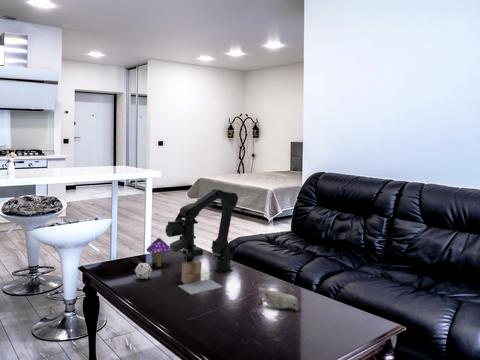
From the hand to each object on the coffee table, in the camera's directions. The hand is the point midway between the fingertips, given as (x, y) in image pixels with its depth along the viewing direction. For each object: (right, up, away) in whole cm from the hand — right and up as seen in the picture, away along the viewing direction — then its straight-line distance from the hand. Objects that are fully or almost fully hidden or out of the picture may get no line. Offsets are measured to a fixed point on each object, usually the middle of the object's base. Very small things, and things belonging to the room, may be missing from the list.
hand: (187, 266), depth 192 cm
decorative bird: (+39, -10, -31) cm, 51 cm away
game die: (-21, -6, +1) cm, 22 cm away
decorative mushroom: (-17, -4, +20) cm, 27 cm away
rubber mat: (+7, -7, -9) cm, 13 cm away
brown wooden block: (+2, -6, -2) cm, 7 cm away
